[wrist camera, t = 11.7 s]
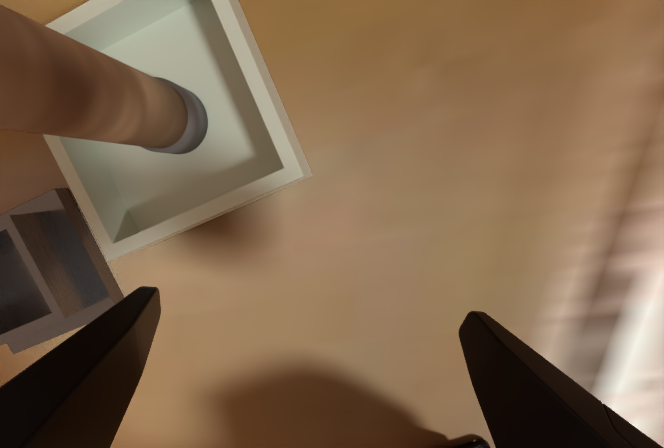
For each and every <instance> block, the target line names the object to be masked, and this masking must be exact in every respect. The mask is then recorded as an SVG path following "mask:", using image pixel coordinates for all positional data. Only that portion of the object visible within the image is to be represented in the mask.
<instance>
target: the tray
mask: <svg viewBox="0 0 664 448" xmlns="http://www.w3.org/2000/svg"><path fill="white" fill-rule="evenodd" d="M45 26H46V27H48V28H51V29H53V30H55V31H57V32H59V33H61V34H63V35H65V36H68V37H70V38H72V39H74V40H76V41H78V42H80V43H82V44H84V45H87V46H89V47H91V48H93V49H95V50H97V51H99V52H101V53H103V54H106V55H108V56H110V57H112V58H114V59H116V60H118V61H120V62H122V63H125V64H127V65H129V66H131V67H133V68H135V69H137V70H139V71H142V72H144V73H146V74H148V75H150V76H152V77H160V78H164V79H167V80H169V81H171V82H173V83H175V84H177V85H179V86H181V87H183V88H185V89H187V90H189V91H191V92H193V93H194V94H195V95H196V96H197V97H198V98H199V99H200V100H201V102H202V103H203V105H204V107H205V109H206V112H207V117H208V128H207V133H206V136H205V138H204V140H203V141H202V143H201V144H200V145H199V146H198V147H197V148H196V149H194V150H193V151H191V152H189V153H185V154H169V153H160V152H152V151H149V150H146V149H144V148H142V147H140V146H133V145H125V144H117V143H109V142H101V141H93V140H85V139H77V138H69V137H62V136H54V135H46V134H42V135H43V137H44V139H45V141H46V142H47V144H48V146H49V148H50V150H51V152H52V154H53V156H54V158H55V160H56V162H57V164H58V166H59V168H60V170H61V172H62V174H63V176H64V178H65V179H66V181H67V183H68V185H69V187H70V189H71V191H72V193H73V195H74V197H75V199H76V201H77V203H78V205H79V207H80V209H81V211H82V213H83V214H84V216H85V218H86V220H87V222H88V224H89V226H90V228H91V230H92V232H93V234H94V236H95V238H96V240H97V242H98V244H99V246H100V248H101V250H102V251H103V253H104V255H105V257H106V259H107V261H111V260H114V259H116V258H119V257H122V256H125V255H128V254H131V253H134V252H136V251H139V250H142V249H145V248H148V247H150V246H152V245H154V244H157V243H159V242H161V241H164V240H166V239H168V238H171V237H173V236H175V235H177V234H180V233H182V232H184V231H187V230H189V229H191V228H194V227H196V226H198V225H201V224H203V223H205V222H207V221H210V220H212V219H214V218H217V217H219V216H221V215H224V214H226V213H228V212H230V211H233V210H235V209H237V208H240V207H242V206H244V205H247V204H249V203H251V202H254V201H256V200H258V199H260V198H263V197H265V196H267V195H270V194H272V193H274V192H277V191H279V190H281V189H284V188H286V187H288V186H290V185H293V184H295V183H297V182H300V181H302V180H304V179H307V178H309V177H311V176H313V175H312V173H311V170H310V168H309V166H308V163H307V161H306V158H305V156H304V154H303V151H302V149H301V147H300V144H299V142H298V140H297V137H296V135H295V133H294V130H293V128H292V126H291V123H290V121H289V119H288V116H287V114H286V111H285V109H284V107H283V104H282V102H281V100H280V97H279V95H278V93H277V90H276V88H275V86H274V83H273V81H272V79H271V76H270V74H269V72H268V69H267V67H266V64H265V62H264V60H263V57H262V55H261V53H260V50H259V48H258V46H257V43H256V41H255V39H254V36H253V34H252V32H251V29H250V27H249V25H248V22H247V20H246V18H245V15H244V13H243V10H242V8H241V6H240V3H239V1H238V0H90V1H88V2H86V3H84V4H82V5H81V6H79V7H77V8H75V9H74V10H72V11H70V12H68V13H67V14H65V15H63V16H61V17H59V18H58V19H56V20H54V21H52V22H51V23H49V24H47V25H45Z"/></svg>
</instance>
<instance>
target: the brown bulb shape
mask: <svg viewBox="0 0 664 448" xmlns="http://www.w3.org/2000/svg"><path fill="white" fill-rule="evenodd" d="M207 128H208V117H207V112H206V109H205V107H204V105H203V103H202V102H201V100H200V99H199V98H198V97H197V96H196V95H195V94H194V93H193V92H191V91H189V90H187V89H185V88H183V87H181V86H179V85H177V84H175V83H173V82H171V81H169V80H167V79H164V78H160V77H152V76H150V75H148V74H146V73H144V72H142V71H139V70H137V69H135V68H133V67H131V66H129V65H127V64H125V63H122V62H120V61H118V60H116V59H114V58H112V57H110V56H108V55H106V54H103V53H101V52H99V51H97V50H95V49H93V48H91V47H89V46H87V45H84V44H82V43H80V42H78V41H76V40H74V39H72V38H70V37H68V36H65V35H63V34H61V33H59V32H57V31H55V30H53V29H51V28H48V27H46V26H44V25H42V24H40V23H38V22H36V21H34V20H32V19H29V18H27V17H25V16H23V15H21V14H19V13H17V12H15V11H13V10H10V9H8V8H6V7H4V6H2V5H0V129H6V130H14V131H22V132H30V133H38V134H46V135H54V136H62V137H69V138H77V139H85V140H93V141H101V142H109V143H117V144H125V145H133V146H140V147H142V148H144V149H146V150H149V151H152V152H160V153H169V154H185V153H189V152H191V151H193V150H194V149H196V148H197V147H198V146H199V145H200V144H201V143H202V141H203V140H204V138H205V136H206V133H207Z"/></svg>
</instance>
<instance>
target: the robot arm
mask: <svg viewBox="0 0 664 448" xmlns="http://www.w3.org/2000/svg"><path fill="white" fill-rule="evenodd" d="M160 314H161V306H160V294H159V290H158V288H156V287H146V286H142V287H139V288H137V289H136V290H135V291H133V292H132V293H131V294H129V295H128V296H126V297H125V298H124V299H122V300H121V301H119V302H118V303H117V304H115V305H114V306H112V307H111V308H110V309H108V310H107V311H105V312H104V313H103V314H101V315H100V316H99V317H97V318H96V319H94V320H93V321H92V322H90V323H89V324H87V325H86V326H85V327H83V328H82V329H80V330H79V331H78V332H76V333H75V334H74V335H72V336H71V337H69V338H68V339H67V340H65V341H64V342H62V343H61V344H60V345H58V346H57V347H55V348H54V349H53V350H51V351H50V352H48V353H47V354H46V355H44V356H43V357H42V358H40V359H39V360H37V361H36V362H35V363H33V364H32V365H30V366H29V367H28V368H26V369H25V370H23V371H22V372H21V373H19V374H18V375H17V376H15V377H14V378H12V379H11V380H10V381H8V382H7V383H5V384H4V385H3V386H1V387H0V448H110V446H111V444H112V442H113V440H114V437H115V435H116V433H117V431H118V428H119V426H120V424H121V422H122V419H123V417H124V415H125V413H126V410H127V408H128V406H129V403H130V401H131V399H132V397H133V394H134V392H135V390H136V388H137V385H138V383H139V381H140V378H141V376H142V373H143V370H144V367H145V364H146V361H147V357H148V354H149V351H150V348H151V345H152V341H153V338H154V335H155V332H156V329H157V325H158V322H159V319H160ZM459 338H460V342H461V346H462V349H463V353H464V357H465V360H466V364H467V368H468V371H469V375H470V378H471V382H472V385H473V388H474V391H475V393H476V396H477V399H478V401H479V404H480V407H481V409H482V412H483V415H484V417H485V420H486V423H487V425H488V428H489V431H490V433H491V436H492V439H493V441H494V444H495V447H496V448H663V447H662V446H660V445H659V444H658V443H656V442H655V441H653V440H652V439H651V438H649V437H648V436H646V435H645V434H644V433H642V432H641V431H639V430H638V429H637V428H635V427H634V426H633V425H631V424H630V423H629V422H627V421H626V420H625V419H623V418H622V417H621V416H619V415H618V414H617V413H615V412H614V411H613V410H612V409H610V408H609V407H608V406H606V405H605V404H602V402H601V401H600V400H598V399H597V398H596V397H594V396H593V395H592V394H591V393H589V392H588V391H587V390H585V389H584V388H583V387H581V386H580V385H579V384H577V383H576V382H575V381H574V380H572V379H571V378H570V377H568V376H567V375H566V374H564V373H563V372H562V371H560V370H559V369H558V368H557V367H555V366H554V365H553V364H551V363H550V362H549V361H547V360H546V359H545V358H543V357H542V356H541V355H539V354H538V353H537V352H536V351H534V350H533V349H532V348H530V347H529V346H528V345H526V344H525V343H524V342H522V341H521V340H520V339H519V338H517V337H516V336H515V335H513V334H512V333H511V332H509V331H508V330H507V329H505V328H504V327H503V326H502V325H500V324H499V323H498V322H496V321H495V320H494V319H492V318H491V317H490V316H488V315H487V314H486V313H484V312H480V311H470V312H469V313H468V314H467V316H466V318H465V320H464V321H463V323H462V325H461V327H460V329H459ZM454 448H490V446H489V444H488V442H487V441H485V440H478V441H474V442H471V443H468V444H464V445H461V446H457V447H454Z"/></svg>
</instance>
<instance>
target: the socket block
mask: <svg viewBox="0 0 664 448" xmlns="http://www.w3.org/2000/svg"><path fill="white" fill-rule="evenodd" d="M122 299H124V296H123V294H122V293H121V291H120V289H119V287H118V285H117V283H116V281H115V279H114V277H113V275H112V273H111V271H110V269H109V267H108V265H107V263H106V261H105V259H104V258H103V256H102V254H101V252H100V250H99V248H98V246H97V244H96V242H95V240H94V238H93V236H92V234H91V232H90V230H89V228H88V226H87V224H86V223H85V221H84V219H83V217H82V215H81V213H80V211H79V209H78V207H77V205H76V203H75V201H74V199H73V197H72V195H71V193H70V191H69V189H68V188H60V189H53V190H51V191H49V192H47V193H45V194H43V195H40V196H38V197H36V198H34V199H32V200H30V201H28V202H26V203H24V204H22V205H20V206H18V207H16V208H14V209H11V210H9V211H7V212H5V213H3V214H1V215H0V345H2V344H5V343H7V344H8V346H9V348H10V349H11V351H12V353H13V354H15V353H18V352H20V351H22V350H25V349H27V348H30V347H32V346H35V345H37V344H40V343H42V342H44V341H47V340H49V339H52V338H54V337H57V336H59V335H62V334H64V333H66V332H69V331H71V330H74V329H76V328H79V327H81V326H84V325H86V324H88V323H90V322H92V321H93V320H94V319H96V318H97V317H99V316H100V315H101V314H103V313H104V312H105V311H107V310H108V309H110V308H111V307H112V306H114V305H115V304H117V303H118V302H119V301H121V300H122Z"/></svg>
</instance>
